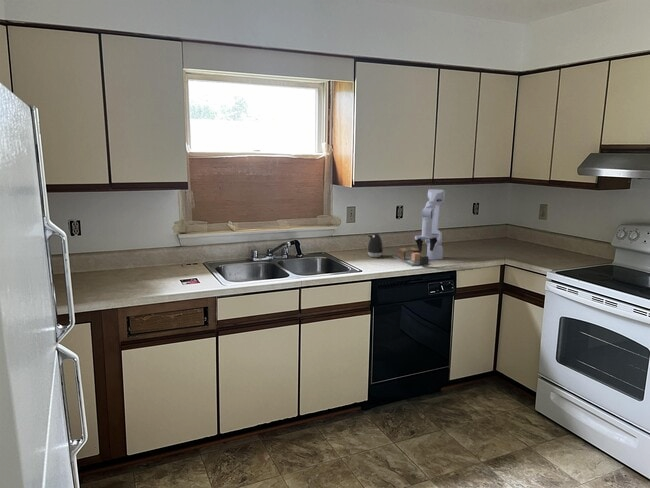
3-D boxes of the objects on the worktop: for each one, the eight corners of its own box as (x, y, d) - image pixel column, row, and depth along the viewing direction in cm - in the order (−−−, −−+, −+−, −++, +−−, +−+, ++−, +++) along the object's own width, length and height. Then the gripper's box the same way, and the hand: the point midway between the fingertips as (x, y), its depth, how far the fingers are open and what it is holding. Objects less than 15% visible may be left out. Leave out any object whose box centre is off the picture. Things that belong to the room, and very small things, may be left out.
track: (409, 256, 321) (409, 254, 321) (429, 264, 298) (429, 262, 298) (393, 257, 317) (393, 255, 317) (412, 266, 294) (412, 264, 294)
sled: (417, 259, 307) (418, 251, 306) (430, 264, 293) (430, 256, 292) (407, 259, 304) (408, 252, 303) (419, 265, 291) (420, 257, 290)
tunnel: (413, 256, 316) (414, 247, 314) (420, 259, 308) (420, 249, 307) (397, 257, 312) (398, 248, 311) (403, 260, 304) (404, 250, 303)
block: (417, 258, 304) (417, 252, 303) (420, 260, 300) (420, 253, 300) (411, 259, 303) (411, 252, 302) (414, 260, 299) (414, 254, 298)
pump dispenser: (364, 255, 320) (364, 232, 317) (378, 254, 324) (379, 231, 321) (370, 258, 311) (371, 235, 308) (385, 257, 315) (386, 234, 312)
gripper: (419, 230, 283) (418, 253, 286) (441, 229, 288) (440, 251, 291) (413, 228, 290) (412, 250, 293) (435, 227, 295) (433, 249, 297)
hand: (425, 251), depth 292 cm, fingers open, 7 cm apart
